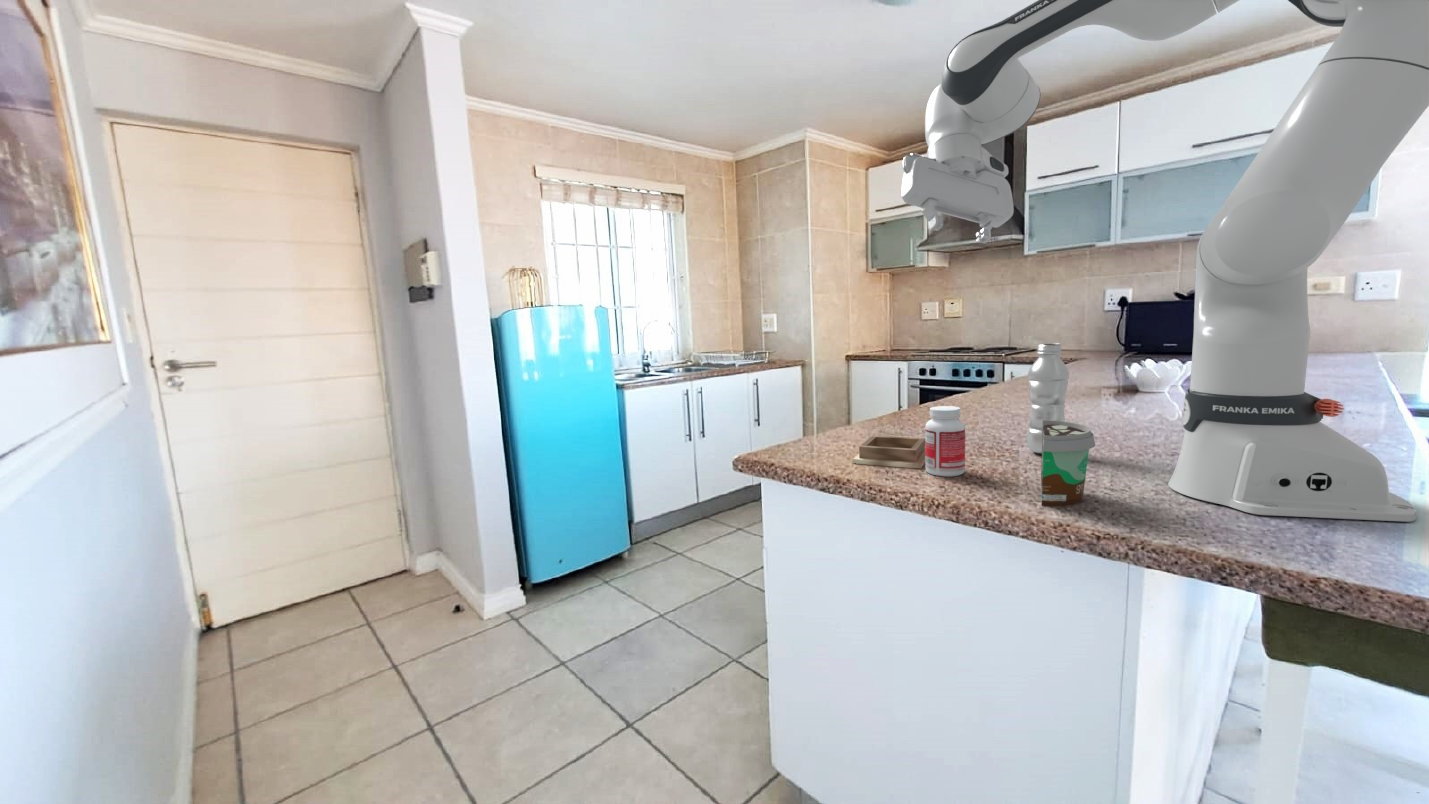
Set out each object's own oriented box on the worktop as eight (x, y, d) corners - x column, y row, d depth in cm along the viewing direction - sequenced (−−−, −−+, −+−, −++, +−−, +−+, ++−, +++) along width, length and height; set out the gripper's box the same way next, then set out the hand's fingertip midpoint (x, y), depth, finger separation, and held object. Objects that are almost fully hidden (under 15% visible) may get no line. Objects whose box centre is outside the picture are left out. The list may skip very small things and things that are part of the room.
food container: (1097, 514, 71) (1100, 438, 70) (1041, 509, 74) (1043, 436, 73) (1089, 487, 82) (1091, 421, 80) (1040, 483, 85) (1042, 419, 83)
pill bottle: (971, 471, 93) (971, 406, 92) (955, 479, 89) (956, 412, 87) (935, 465, 98) (935, 403, 96) (918, 473, 93) (918, 409, 92)
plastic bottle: (1034, 458, 99) (1037, 346, 96) (1020, 449, 105) (1022, 344, 102) (1074, 457, 97) (1078, 344, 95) (1057, 448, 104) (1060, 342, 101)
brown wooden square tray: (931, 452, 106) (931, 437, 106) (920, 468, 96) (920, 451, 96) (869, 448, 112) (868, 434, 112) (852, 463, 102) (852, 447, 102)
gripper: (914, 137, 91) (918, 209, 86) (1016, 168, 96) (1024, 237, 92) (892, 163, 96) (894, 231, 92) (989, 191, 102) (995, 256, 98)
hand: (960, 234), depth 92 cm, fingers open, 8 cm apart
